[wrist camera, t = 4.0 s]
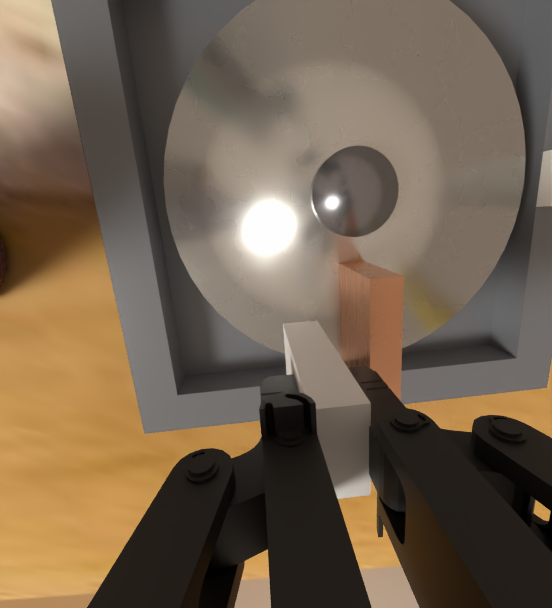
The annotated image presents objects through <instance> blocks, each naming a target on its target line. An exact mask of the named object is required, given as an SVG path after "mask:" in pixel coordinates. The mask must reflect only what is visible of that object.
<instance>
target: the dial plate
mask: <svg viewBox="0 0 552 608" xmlns="http://www.w3.org/2000/svg"><path fill="white" fill-rule="evenodd" d="M254 1H255V0H51V2H52V6H53V11H54V16H55V20H56V25H57V30H58V34H59V39H60V44H61V48H62V53H63V57H64V62H65V67H66V71H67V76H68V81H69V85H70V90H71V95H72V99H73V104H74V109H75V113H76V118H77V122H78V127H79V132H80V136H81V141H82V146H83V150H84V155H85V160H86V164H87V169H88V174H89V178H90V183H91V187H92V192H93V197H94V201H95V206H96V211H97V215H98V220H99V225H100V229H101V234H102V238H103V243H104V248H105V252H106V257H107V262H108V266H109V271H110V276H111V280H112V285H113V290H114V294H115V299H116V303H117V308H118V313H119V317H120V322H121V327H122V331H123V336H124V341H125V345H126V350H127V355H128V359H129V364H130V368H131V373H132V378H133V382H134V387H135V392H136V396H137V401H138V406H139V410H140V415H141V419H142V424H143V429H144V433H145V434H146V433H155V432H163V431H172V430H181V429H190V428H198V427H207V426H216V425H225V424H233V423H242V422H251V421H260V414H259V408H260V404H261V395H260V384H261V383H262V381H263V380H264V379H265V377H271V376H281V375H287V374H286V359H285V354H284V353H281V352H278V351H275V350H272V349H270V348H268V347H266V346H264V345H262V344H260V343H258V342H256V341H254V340H253V339H251V338H250V337H248V336H247V335H245V334H244V333H242V332H241V331H239V330H237V329H236V328H235V327H234V326H232V325H231V324H230V323H229V322H228V321H227V320H226V319H224V318H223V317H222V316H221V315H220V314H219V313H218V312H217V311H216V310H215V309H214V308H213V306H212V305H211V304H210V303H209V302H208V301H207V300H206V299H205V298H204V296H203V295H202V293H201V292H200V290H199V289H198V287H197V286H196V284H195V283H194V282H193V280H192V279H191V277H190V275H189V273H188V271H187V269H186V267H185V265H184V263H183V261H182V259H181V257H180V255H179V252H178V249H177V247H176V244H175V241H174V238H173V236H172V232H171V228H170V223H169V219H168V215H167V210H166V202H165V191H164V155H165V149H166V143H167V136H168V130H169V126H170V123H171V119H172V116H173V112H174V109H175V105H176V102H177V100H178V97H179V95H180V93H181V91H182V88H183V86H184V84H185V82H186V79H187V77H188V75H189V73H190V72H191V70H192V68H193V67H194V65H195V63H196V62H197V60H198V59H199V57H200V55H201V54H202V52H203V50H204V49H205V48H206V47H207V46H208V44H209V43H210V42H211V41H212V40H213V38H214V37H215V36H216V35H217V33H218V32H219V31H220V30H221V29H222V28H223V27H224V26H225V25H226V24H227V23H228V22H229V21H230V20H231V19H232V18H234V17H235V16H236V15H237V14H238V13H239V12H240V11H241V10H242V9H244V8H245V7H247V6H248V5H250V4H251V3H252V2H254ZM450 1H451V2H452V3H453V4H455V5H456V6H457V7H458V8H459V9H461V10H462V11H463V12H464V13H466V14H467V15H468V16H469V17H470V18H471V19H472V20H473V21H474V23H475V24H476V25H477V26H478V27H479V28H480V29H481V30H482V32H483V33H484V34H485V35H486V36H487V38H488V39H489V41H490V42H491V44H492V45H493V47H494V48H495V50H496V51H497V53H498V54H499V56H500V57H501V59H502V62H503V64H504V66H505V68H506V70H507V72H508V74H509V76H510V78H511V81H512V83H513V87H514V90H515V93H516V96H517V99H518V102H519V105H520V110H521V116H522V121H523V127H524V135H525V152H526V160H525V177H524V185H523V191H522V197H521V202H520V207H519V210H518V214H517V217H516V221H515V224H514V227H513V230H512V232H511V235H510V237H509V240H508V242H507V244H506V247H505V249H504V251H503V253H502V255H501V257H500V258H499V260H498V262H497V264H496V266H495V267H494V269H493V271H492V272H491V274H490V275H489V277H488V278H487V279H486V281H485V282H484V284H483V285H482V287H481V288H480V289H479V290H478V292H477V293H476V294H475V295H474V296H473V297H472V298H471V300H470V301H469V302H468V303H467V304H466V305H465V306H464V307H463V308H462V309H461V310H460V311H459V312H458V313H457V314H455V315H454V316H453V317H452V318H451V319H450V320H449V321H447V322H446V323H445V324H443V325H442V326H441V327H439V328H438V329H436V330H435V331H434V332H432V333H431V334H429V335H427V336H426V337H424V338H422V339H420V340H419V341H417V342H415V343H413V344H411V345H409V346H406V347H404V348H402V368H401V402H402V404H408V403H417V402H426V401H435V400H443V399H452V398H461V397H470V396H478V395H487V394H496V393H505V392H513V391H522V390H531V389H540V388H547V383H548V377H549V371H550V365H551V358H552V0H450Z"/></svg>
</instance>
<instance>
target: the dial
mask: <svg viewBox="0 0 552 608" xmlns="http://www.w3.org/2000/svg"><path fill="white" fill-rule="evenodd" d="M525 160H526V152H525V135H524V127H523V121H522V116H521V110H520V105H519V102H518V99H517V96H516V93H515V90H514V87H513V83H512V81H511V78H510V76H509V74H508V72H507V70H506V68H505V66H504V64H503V62H502V59H501V57H500V56H499V54H498V53H497V51H496V50H495V48H494V47H493V45H492V44H491V42H490V41H489V39H488V38H487V36H486V35H485V34H484V33H483V32H482V30H481V29H480V28H479V27H478V26H477V25H476V24H475V23H474V21H473V20H472V19H471V18H470V17H469V16H468V15H467V14H466V13H464V12H463V11H462V10H461V9H459V8H458V7H457V6H456V5H455V4H453V3H452V2H451V1H450V0H255V1H254V2H252V3H251V4H250V5H248V6H247V7H245V8H244V9H242V10H241V11H240V12H239V13H238V14H237V15H236V16H235V17H234V18H232V19H231V20H230V21H229V22H228V23H227V24H226V25H225V26H224V27H223V28H222V29H221V30H220V31H219V32H218V33H217V35H216V36H215V37H214V38H213V40H212V41H211V42H210V43H209V44H208V46H207V47H206V48H205V49H204V50H203V52H202V54H201V55H200V57H199V59H198V60H197V62H196V63H195V65H194V67H193V68H192V70H191V72H190V73H189V75H188V77H187V79H186V82H185V84H184V86H183V88H182V91H181V93H180V95H179V97H178V100H177V102H176V105H175V109H174V112H173V116H172V119H171V123H170V126H169V130H168V136H167V143H166V149H165V155H164V191H165V202H166V210H167V215H168V219H169V223H170V228H171V232H172V236H173V238H174V241H175V244H176V247H177V249H178V252H179V255H180V257H181V259H182V261H183V263H184V265H185V267H186V269H187V271H188V273H189V275H190V277H191V279H192V280H193V282H194V283H195V284H196V286H197V287H198V289H199V290H200V292H201V293H202V295H203V296H204V298H205V299H206V300H207V301H208V302H209V303H210V304H211V305H212V306H213V308H214V309H215V310H216V311H217V312H218V313H219V314H220V315H221V316H222V317H223V318H224V319H226V320H227V321H228V322H229V323H230V324H231V325H232V326H234V327H235V328H236V329H237V330H239V331H241V332H242V333H244V334H245V335H247V336H248V337H250V338H251V339H253V340H254V341H256V342H258V343H260V344H262V345H264V346H266V347H268V348H270V349H272V350H275V351H278V352H281V353H284V354H285V345H284V331H283V324H285V323H296V322H306V321H318V323H319V324H320V326H321V328H322V329H323V331H324V332H325V334H326V335H327V337H328V338H329V340H330V341H331V343H332V344H333V346H334V347H335V349H336V351H337V352H338V354H339V355H340V357H341V358H342V360H343V361H344V363H345V364H346V366H347V367H348V368H349V367H358V366H367V367H368V368H370V369H372V370H374V371H376V372H377V373H378V374H379V376H380V377H381V378H382V379H383V382H385V383H386V384H387V385H388V386H389V388H390V389H391V390H392V391H393V393H394V394H395V395H396V396H397V397H398V399H399V400H400V401H401V368H402V348H404V347H406V346H409V345H411V344H413V343H415V342H417V341H419V340H420V339H422V338H424V337H426V336H427V335H429V334H431V333H432V332H434V331H435V330H436V329H438V328H439V327H441V326H442V325H443V324H445V323H446V322H447V321H449V320H450V319H451V318H452V317H453V316H454V315H455V314H457V313H458V312H459V311H460V310H461V309H462V308H463V307H464V306H465V305H466V304H467V303H468V302H469V301H470V300H471V298H472V297H473V296H474V295H475V294H476V293H477V292H478V290H479V289H480V288H481V287H482V285H483V284H484V282H485V281H486V279H487V278H488V277H489V275H490V274H491V272H492V271H493V269H494V267H495V266H496V264H497V262H498V260H499V258H500V257H501V255H502V253H503V251H504V249H505V247H506V244H507V242H508V240H509V237H510V235H511V232H512V230H513V227H514V224H515V221H516V217H517V214H518V210H519V207H520V202H521V197H522V191H523V185H524V177H525Z"/></svg>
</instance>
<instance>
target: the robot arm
mask: <svg viewBox="0 0 552 608" xmlns="http://www.w3.org/2000/svg"><path fill="white" fill-rule="evenodd" d="M283 331H284V345H285V359H286V374H287V375H281V376H271V377H265V379H264V380H263V381H262V383H261V384H260V395H261V404H260V408H259V414H260V424H261V434H262V437H261V439H260V441H259V443H258V444H257V445H256V446H255V447H254V448H253V449H251V450H250V451H248V452H247V453H244V454H242V455H240V456H237V457H235V458H232V459H231V457H230V455H228V454H227V453H225V452H224V451H223V450H218V449H214V448H211V449H201V450H198V451H195V452H192V453H190V454H188V455H187V456H185V457H184V458H182V459H181V460H180V461H179V462H178V463H177V464H176V465H175V467H174V468H173V469H172V471H171V472H170V474H169V476H168V477H167V479H166V481H165V482H164V484H163V485H162V487H161V489H160V490H159V492H158V494H157V495H156V497H155V498H154V500H153V502H152V503H151V505H150V507H149V508H148V510H147V511H146V513H145V515H144V516H143V518H142V519H141V521H140V523H139V524H138V526H137V528H136V529H135V531H134V532H133V534H132V536H131V537H130V539H129V541H128V542H127V544H126V545H125V547H124V549H123V550H122V552H121V554H120V555H119V557H118V558H117V560H116V562H115V563H114V565H113V567H112V568H111V570H110V571H109V573H108V575H107V576H106V578H105V579H104V581H103V583H102V584H101V586H100V588H99V589H98V591H97V592H96V594H95V596H94V597H93V599H92V601H91V602H90V604H89V605H88V607H87V608H234V606H235V602H236V597H237V594H238V590H239V585H240V581H241V577H242V573H243V569H244V561H245V560H247V559H249V558H251V557H253V556H255V555H257V554H259V553H261V552H263V551H265V550H267V549H268V558H269V576H270V594H271V608H371V604H370V601H369V598H368V595H367V592H366V588H365V585H364V582H363V579H362V576H361V573H360V569H359V566H358V563H357V560H356V556H355V553H354V550H353V547H352V544H351V540H350V537H349V534H348V531H347V528H346V525H345V521H344V518H343V515H342V512H341V509H340V505H339V502H338V499H341V498H349V497H357V496H365V495H370V481H371V479H372V482H373V484H374V486H375V488H376V490H377V532H378V537H383V524H384V526H385V529H386V531H387V533H388V536H389V538H390V540H391V543H392V545H393V547H394V549H395V552H396V554H397V556H398V559H399V561H400V563H401V566H402V568H403V570H404V573H405V575H406V577H407V580H408V582H409V584H410V586H411V589H412V591H413V594H414V596H415V598H416V600H417V603H418V605H419V607H420V608H552V438H550V437H549V436H547V435H545V434H543V433H541V432H540V431H538V430H536V429H534V428H532V427H531V426H529V425H527V424H525V423H522V422H520V421H518V420H515V419H512V418H508V417H505V416H499V415H498V416H497V415H487V416H480V417H479V418H477V419H475V420H474V423H473V426H472V432H463V431H453V430H445V429H440V428H439V427H438V426H437V424H436V423H435V422H434V421H433V420H432V419H431V418H429V417H428V416H427V415H425V414H423V413H421V412H419V411H416V410H412V409H408V408H406V407H405V406H404V405H403V404H402V402H401V401H400V400H399V399H398V397H397V396H396V395H395V394H394V393H393V391H392V390H391V389H390V388H389V386H388V385H387V384H386V383H385V382H383V379H382V378H381V377H380V376H379V374H378V373H377V372H376V371H374V370H372V369H370V368H368V367H367V366H358V367H349V368H348V367H347V366H346V364H345V363H344V361H343V360H342V358H341V357H340V355H339V354H338V352H337V351H336V349H335V347H334V346H333V344H332V343H331V341H330V340H329V338H328V337H327V335H326V334H325V332H324V331H323V329H322V328H321V326H320V324H319V323H318V321H306V322H296V323H285V324H283ZM535 500H537V501H538V502H540V503H541V504H542V505H544V506H545V507H546V508H548V509H549V510H550V511H551V513H550V519H549V521H545V520H542V519H541V518H539V517H538V516H536V515H535V514H534V513H533V512H534V506H535Z"/></svg>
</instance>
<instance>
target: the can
mask: <svg viewBox="0 0 552 608" xmlns="http://www.w3.org/2000/svg"><path fill="white" fill-rule="evenodd" d="M5 271H6V252H5V250H4V247H3V244H2V241H1V238H0V285H1V282H2V280H3V277H4V274H5Z"/></svg>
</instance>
